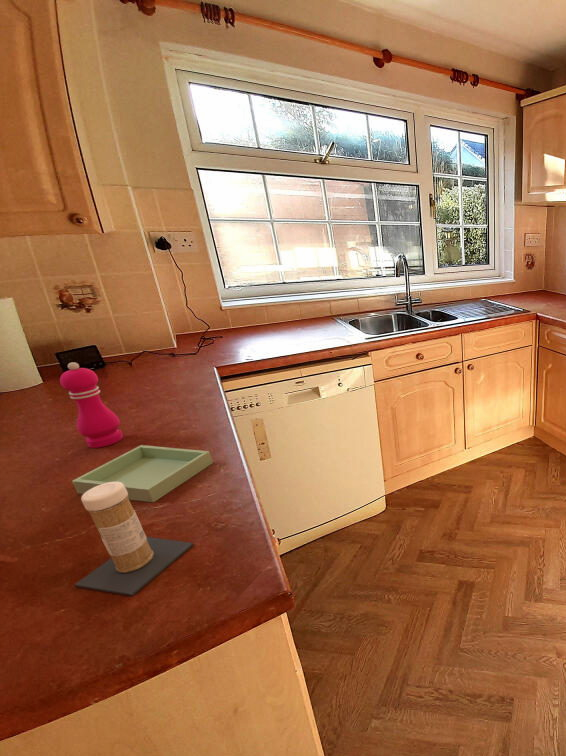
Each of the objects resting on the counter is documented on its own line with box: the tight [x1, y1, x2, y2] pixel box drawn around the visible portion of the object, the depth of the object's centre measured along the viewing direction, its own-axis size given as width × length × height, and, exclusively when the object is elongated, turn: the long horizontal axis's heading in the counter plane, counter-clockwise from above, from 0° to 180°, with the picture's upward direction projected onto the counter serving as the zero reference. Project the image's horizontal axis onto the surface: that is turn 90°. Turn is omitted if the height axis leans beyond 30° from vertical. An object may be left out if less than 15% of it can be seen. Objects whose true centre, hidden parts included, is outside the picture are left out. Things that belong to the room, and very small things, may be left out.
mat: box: [74, 536, 195, 597], centre depth 65 cm, size 10×10×1 cm
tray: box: [71, 444, 214, 503], centre depth 86 cm, size 18×14×3 cm
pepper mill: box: [59, 362, 124, 449], centre depth 97 cm, size 7×7×20 cm
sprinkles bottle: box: [80, 482, 154, 573], centre depth 62 cm, size 5×5×13 cm
